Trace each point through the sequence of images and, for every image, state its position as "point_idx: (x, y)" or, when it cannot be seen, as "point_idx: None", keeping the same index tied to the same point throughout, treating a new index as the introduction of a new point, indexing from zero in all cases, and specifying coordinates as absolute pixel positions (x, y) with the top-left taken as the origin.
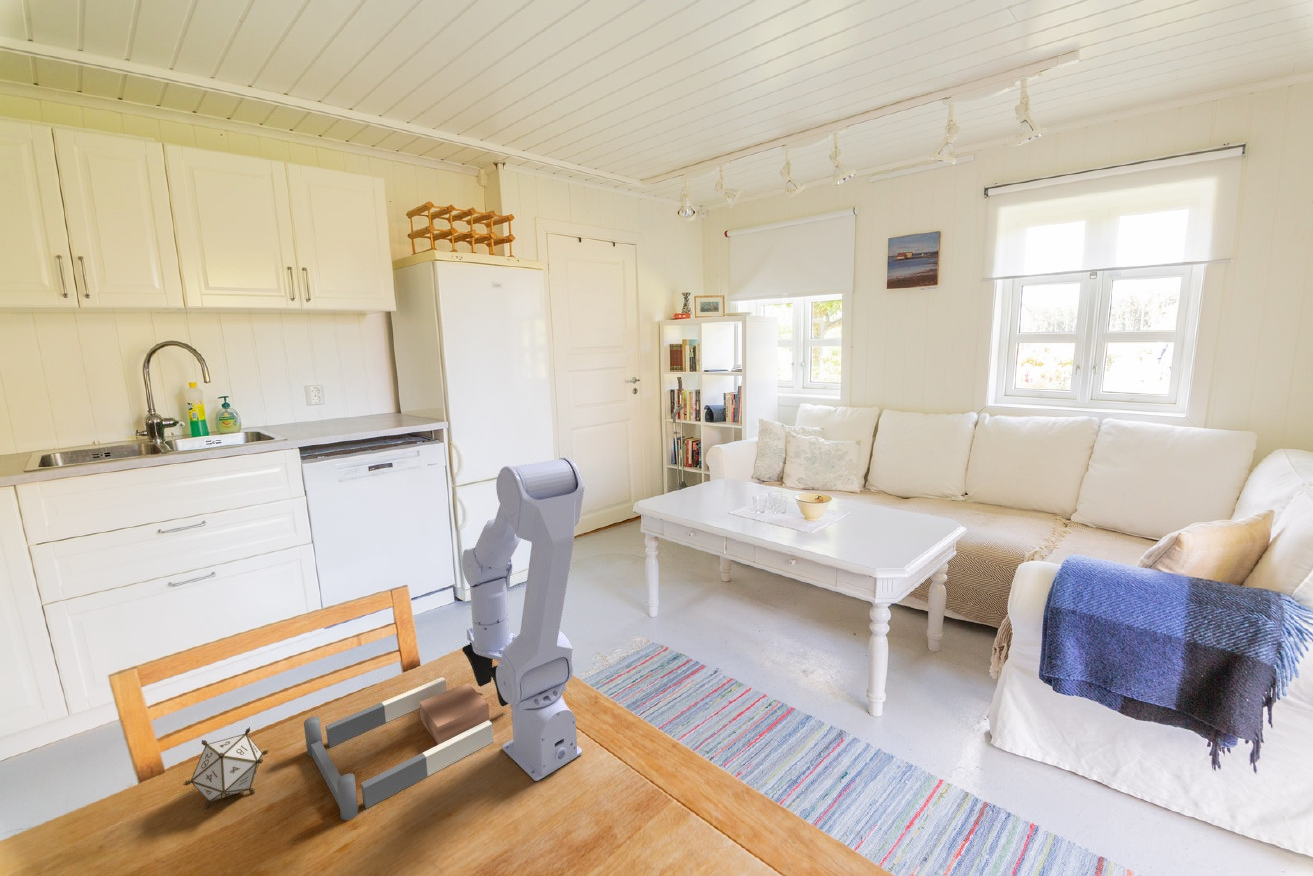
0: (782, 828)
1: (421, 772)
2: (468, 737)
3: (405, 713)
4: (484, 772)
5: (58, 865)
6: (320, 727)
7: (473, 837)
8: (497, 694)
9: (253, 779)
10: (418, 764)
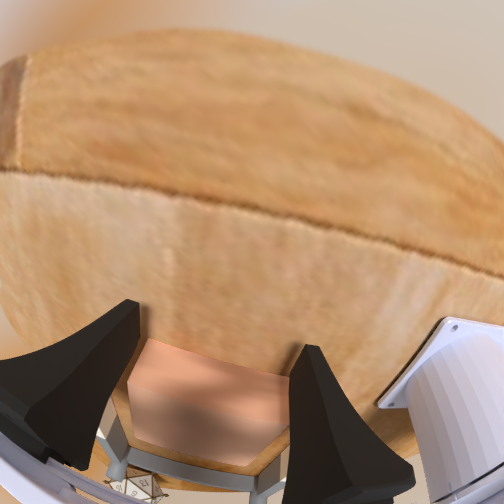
0: None
1: None
2: None
3: (110, 398)
4: (373, 427)
5: None
6: (118, 469)
7: (409, 449)
8: (290, 416)
9: (146, 475)
10: None
